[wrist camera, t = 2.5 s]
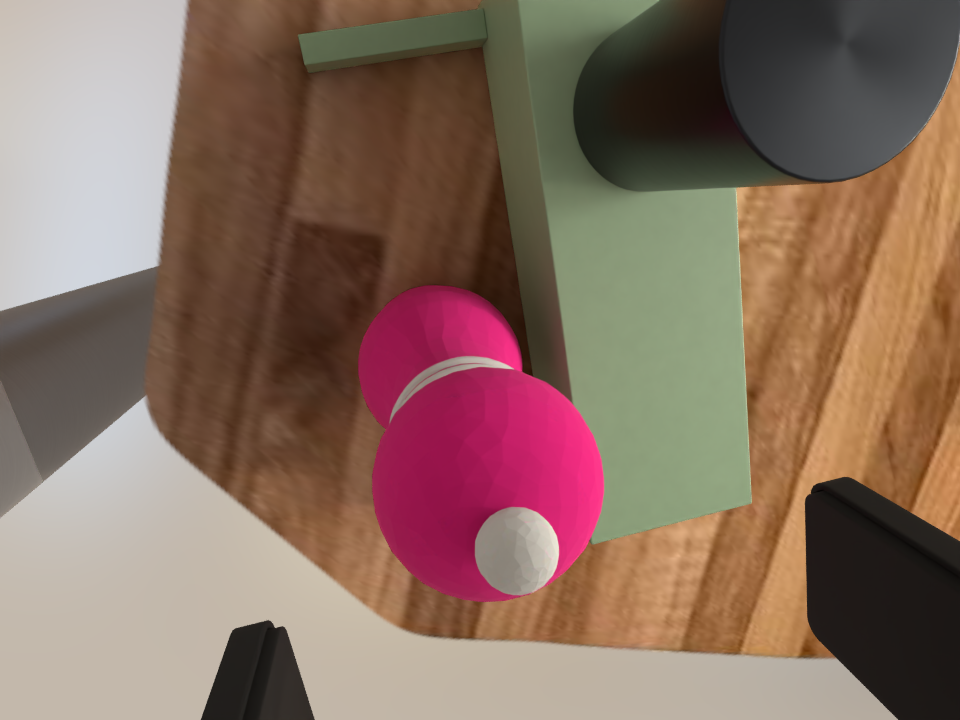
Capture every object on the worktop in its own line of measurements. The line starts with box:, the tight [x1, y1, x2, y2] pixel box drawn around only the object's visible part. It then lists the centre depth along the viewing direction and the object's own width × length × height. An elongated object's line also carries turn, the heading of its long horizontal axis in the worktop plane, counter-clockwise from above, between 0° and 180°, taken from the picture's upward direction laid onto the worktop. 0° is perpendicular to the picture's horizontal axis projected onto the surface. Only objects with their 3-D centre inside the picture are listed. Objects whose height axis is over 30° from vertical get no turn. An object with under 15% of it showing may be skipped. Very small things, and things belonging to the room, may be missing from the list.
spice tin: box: [573, 0, 960, 192], centre depth 18 cm, size 6×6×10 cm
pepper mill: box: [358, 285, 604, 602], centre depth 21 cm, size 7×7×20 cm
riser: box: [298, 0, 752, 544], centre depth 27 cm, size 16×24×7 cm, turn 10°
